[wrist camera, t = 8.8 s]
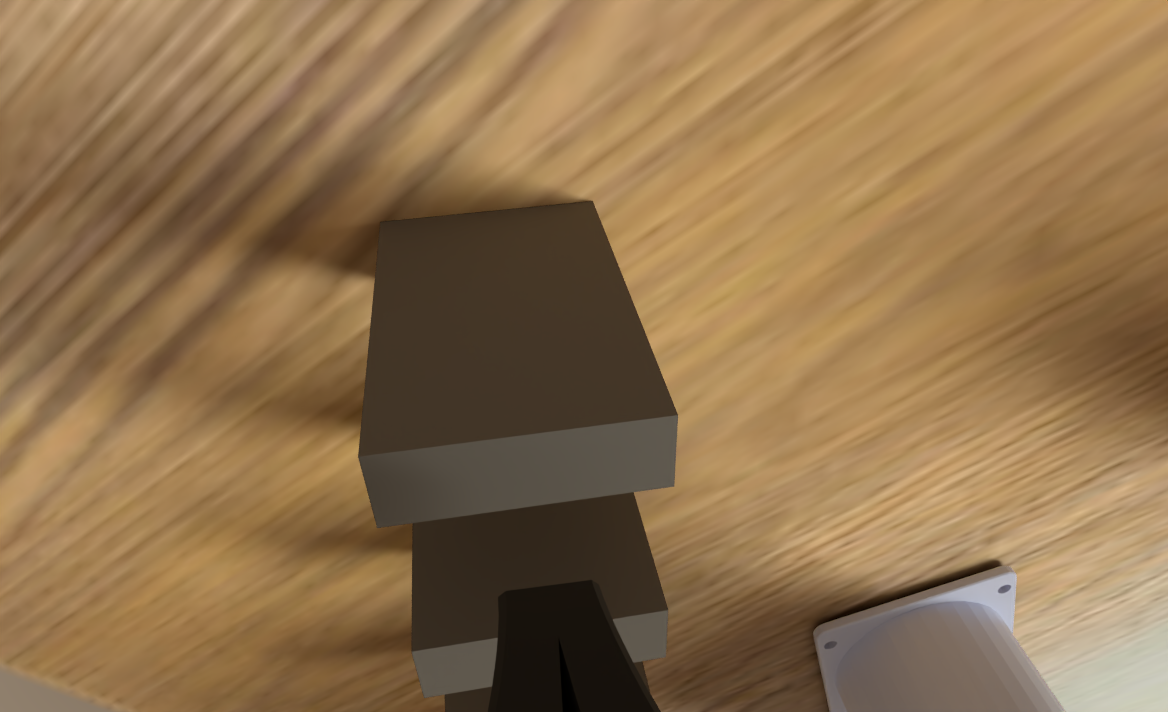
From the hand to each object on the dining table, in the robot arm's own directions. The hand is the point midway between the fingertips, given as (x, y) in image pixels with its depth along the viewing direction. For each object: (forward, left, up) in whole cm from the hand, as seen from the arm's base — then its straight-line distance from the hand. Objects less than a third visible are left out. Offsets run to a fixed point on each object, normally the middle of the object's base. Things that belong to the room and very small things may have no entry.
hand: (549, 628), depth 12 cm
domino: (-4, +1, -10) cm, 11 cm away
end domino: (+1, 0, -10) cm, 10 cm away
